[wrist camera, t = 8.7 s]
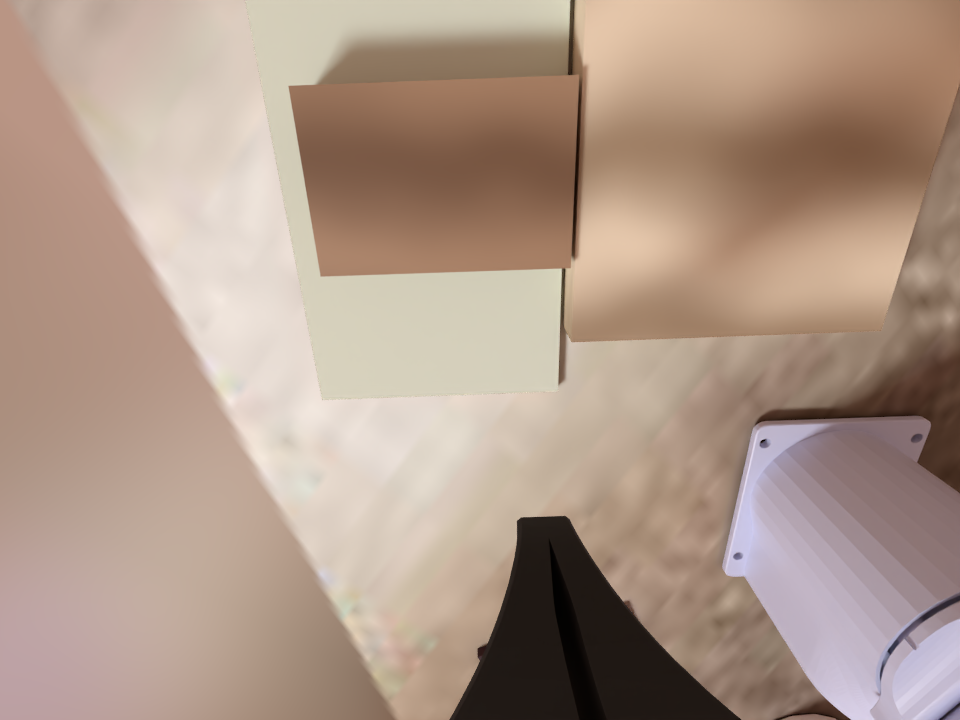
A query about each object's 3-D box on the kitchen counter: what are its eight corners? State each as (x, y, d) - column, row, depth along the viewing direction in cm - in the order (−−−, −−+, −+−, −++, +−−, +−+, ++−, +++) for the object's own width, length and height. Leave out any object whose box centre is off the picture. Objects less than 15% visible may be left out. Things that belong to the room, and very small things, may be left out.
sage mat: (556, 387, 22) (558, 391, 21) (324, 395, 22) (321, 400, 21) (572, -142, 14) (574, -149, 14) (226, -125, 15) (219, -132, 14)
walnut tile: (561, 256, 19) (570, 268, 17) (335, 264, 19) (320, 276, 17) (568, 83, 17) (579, 74, 15) (309, 93, 17) (288, 85, 15)
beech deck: (844, 314, 20) (881, 330, 19) (563, 325, 20) (571, 342, 19) (943, -37, 16) (1005, -62, 14) (574, -20, 16) (587, -43, 14)
